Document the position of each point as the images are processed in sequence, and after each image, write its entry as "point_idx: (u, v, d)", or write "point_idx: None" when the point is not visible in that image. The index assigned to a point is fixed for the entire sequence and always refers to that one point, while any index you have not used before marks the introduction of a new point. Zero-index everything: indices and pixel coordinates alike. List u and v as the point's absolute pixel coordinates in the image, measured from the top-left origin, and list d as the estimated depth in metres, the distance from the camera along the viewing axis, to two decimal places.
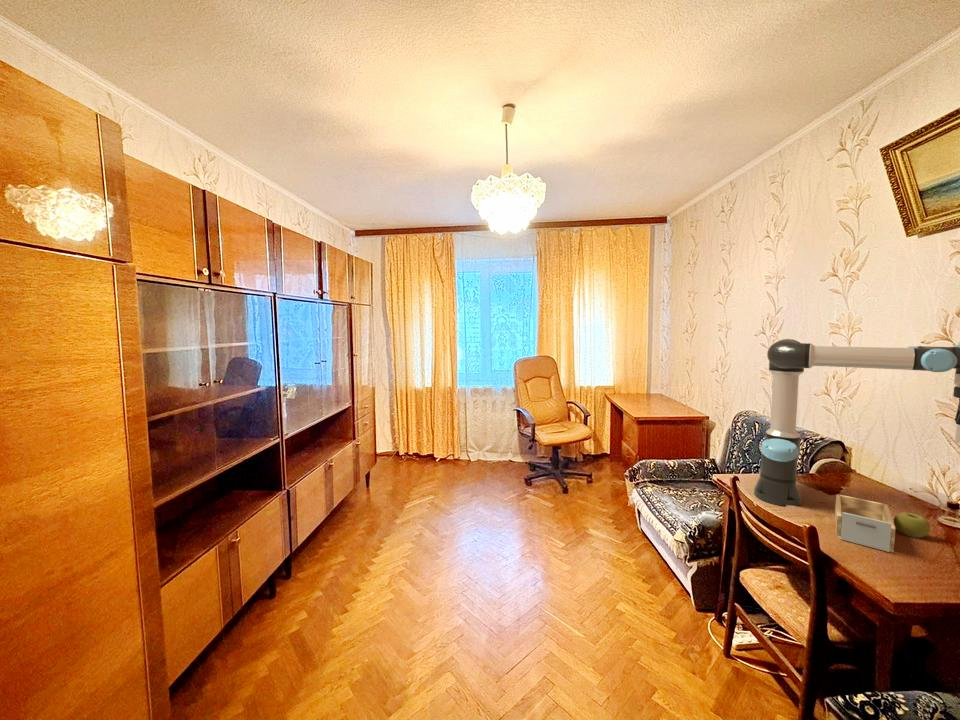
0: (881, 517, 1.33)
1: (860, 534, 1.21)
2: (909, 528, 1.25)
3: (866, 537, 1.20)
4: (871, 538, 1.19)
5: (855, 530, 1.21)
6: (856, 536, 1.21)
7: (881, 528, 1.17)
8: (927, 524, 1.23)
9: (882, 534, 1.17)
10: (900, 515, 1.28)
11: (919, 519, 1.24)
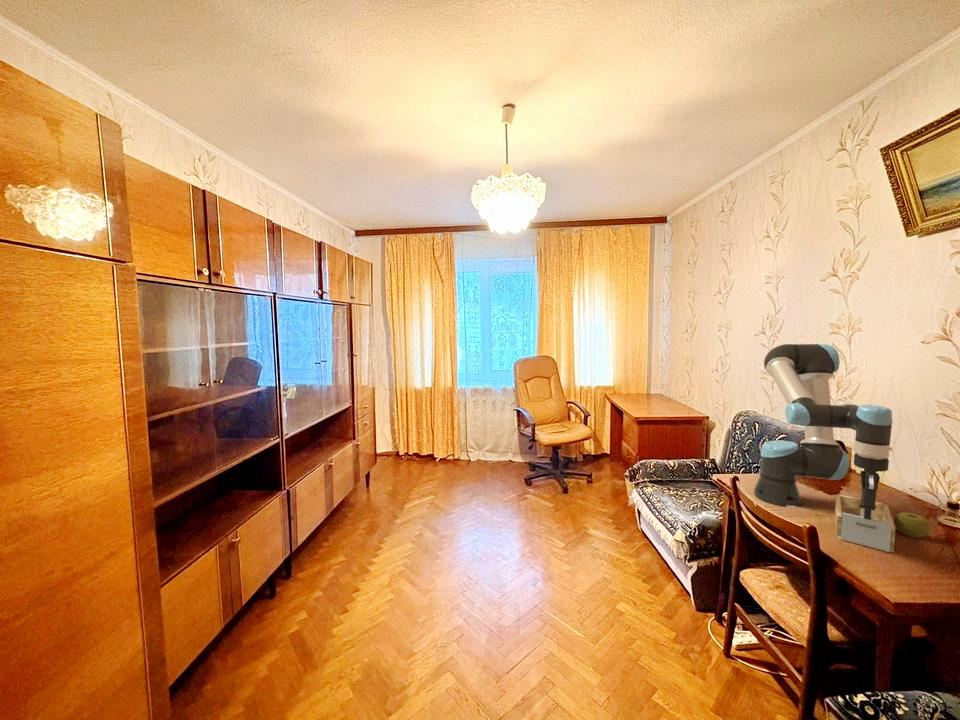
0: (881, 517, 1.33)
1: (860, 534, 1.20)
2: (909, 528, 1.25)
3: (866, 537, 1.20)
4: (871, 538, 1.19)
5: (855, 530, 1.21)
6: (856, 536, 1.21)
7: (881, 529, 1.17)
8: (927, 524, 1.23)
9: (882, 534, 1.17)
10: (900, 515, 1.28)
11: (919, 519, 1.24)
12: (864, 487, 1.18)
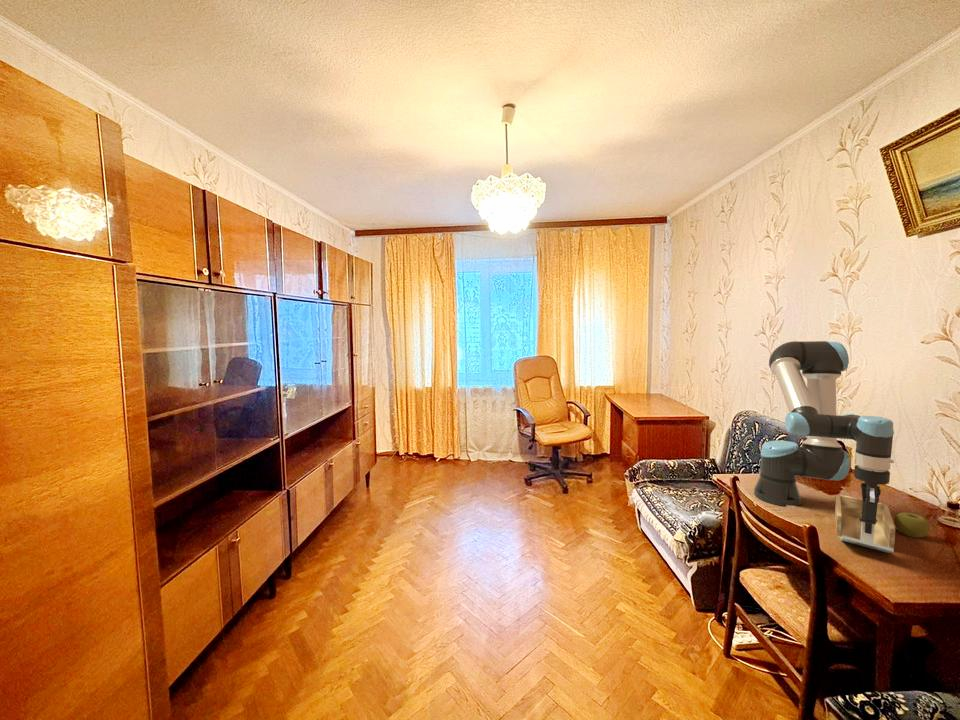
0: (881, 517, 1.33)
1: (860, 544, 1.19)
2: (909, 528, 1.25)
3: (866, 546, 1.18)
4: (871, 547, 1.17)
5: (855, 543, 1.19)
6: (856, 543, 1.20)
7: (882, 549, 1.13)
8: (927, 524, 1.23)
9: (883, 550, 1.14)
10: (900, 515, 1.28)
11: (919, 519, 1.24)
12: (865, 500, 1.15)
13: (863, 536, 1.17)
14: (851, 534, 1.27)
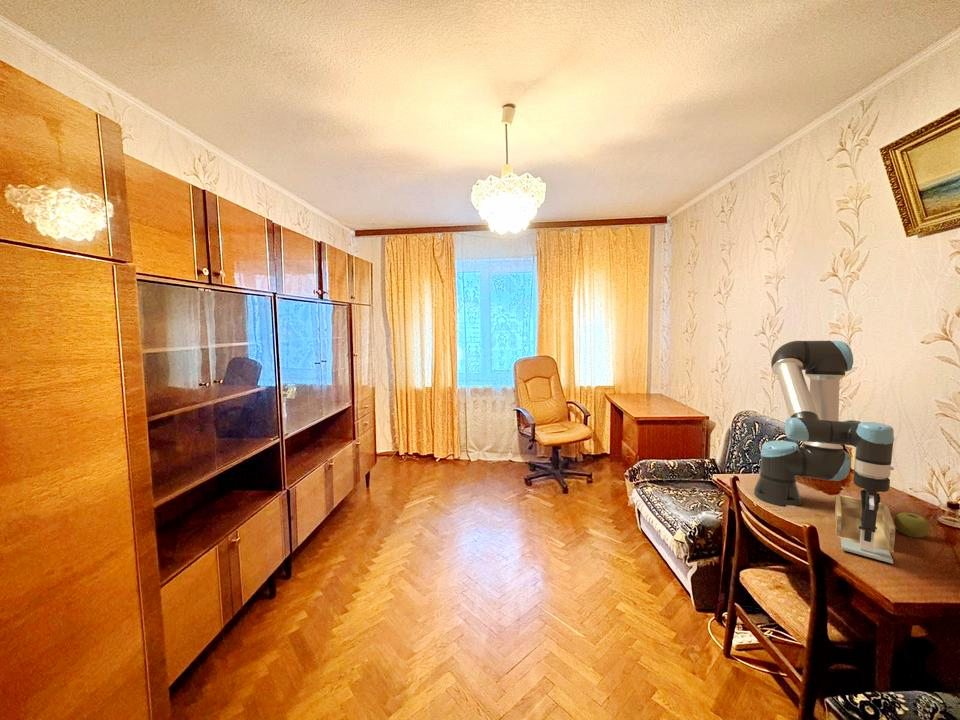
0: (881, 517, 1.33)
1: None
2: (909, 528, 1.25)
3: None
4: None
5: None
6: None
7: None
8: (927, 524, 1.23)
9: None
10: (900, 515, 1.28)
11: (919, 519, 1.24)
12: (864, 507, 1.14)
13: (862, 544, 1.15)
14: (851, 534, 1.27)
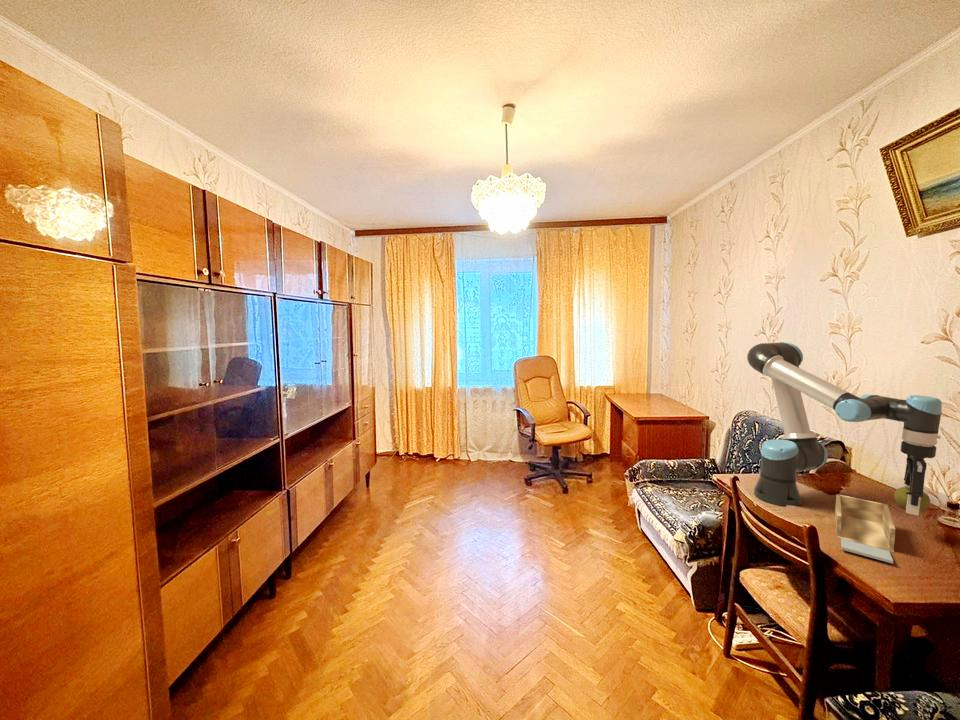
0: (881, 517, 1.33)
1: None
2: None
3: None
4: None
5: None
6: None
7: None
8: (927, 498, 1.23)
9: None
10: (900, 489, 1.27)
11: None
12: (911, 473, 1.24)
13: (909, 508, 1.24)
14: (851, 534, 1.27)
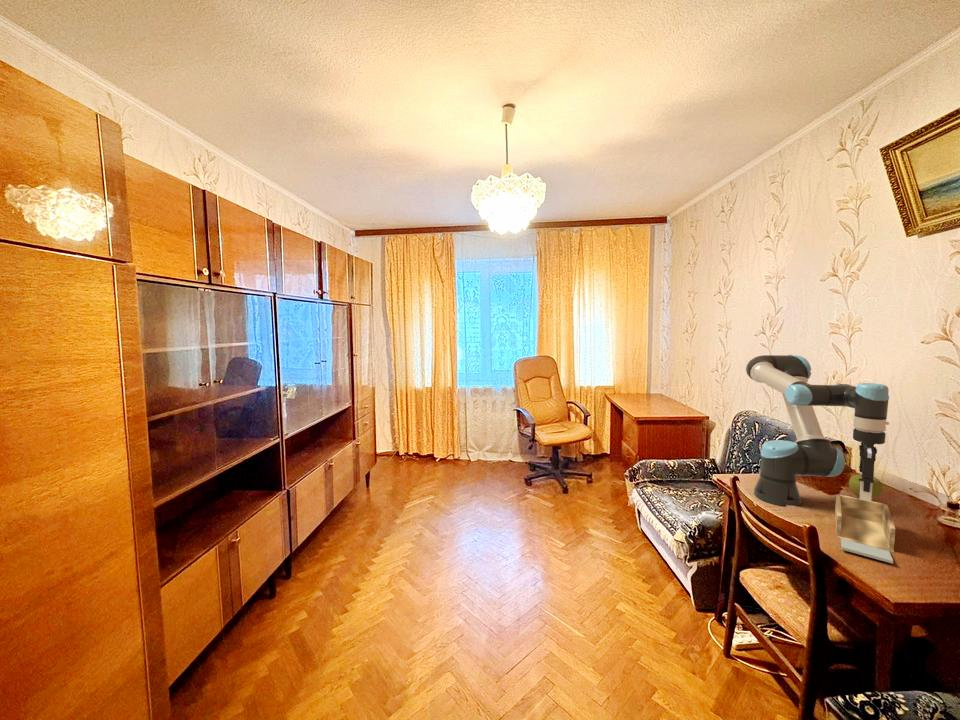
0: (881, 517, 1.33)
1: None
2: None
3: None
4: None
5: None
6: None
7: None
8: (879, 484, 1.24)
9: None
10: (854, 476, 1.29)
11: None
12: (863, 459, 1.25)
13: (862, 495, 1.25)
14: (851, 534, 1.27)
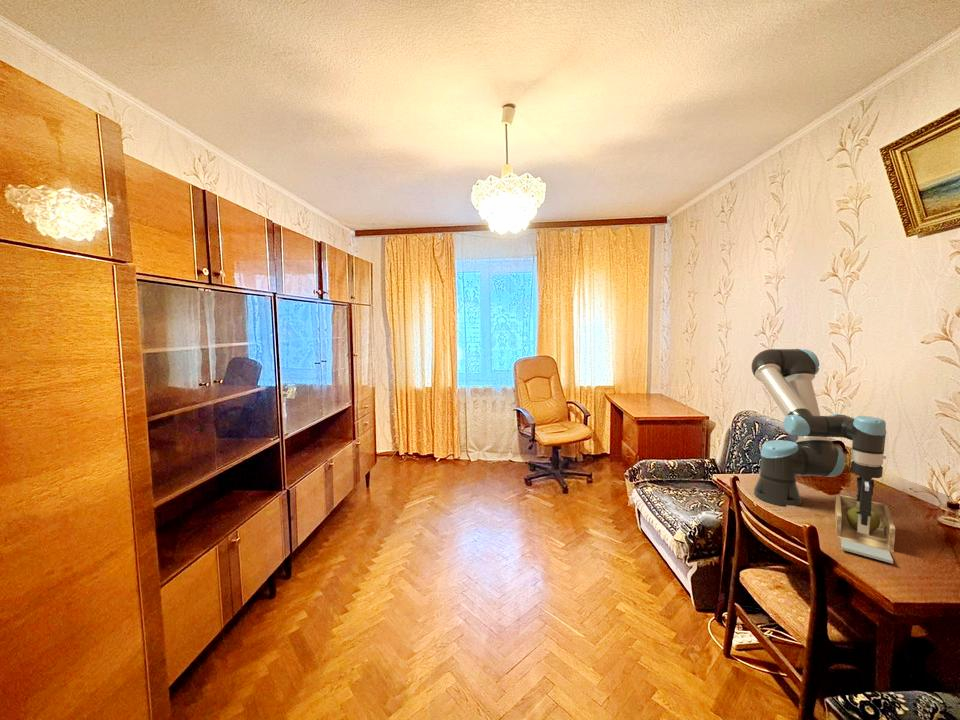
0: (881, 517, 1.33)
1: None
2: None
3: None
4: None
5: None
6: None
7: None
8: (877, 518, 1.25)
9: None
10: (852, 510, 1.30)
11: None
12: (860, 492, 1.26)
13: (859, 527, 1.25)
14: (851, 534, 1.27)
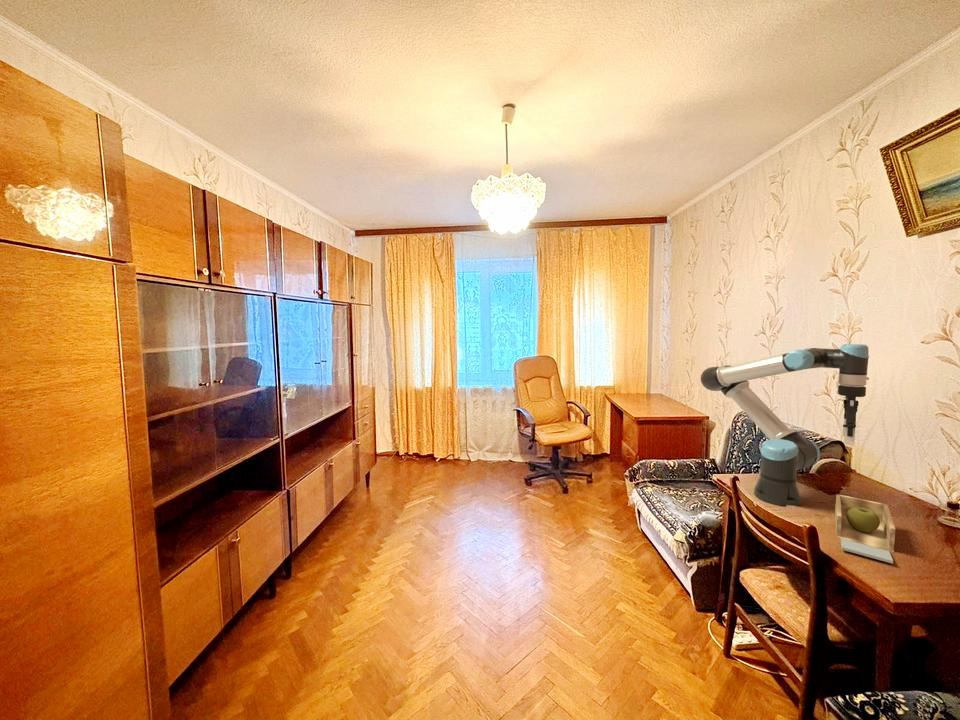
0: (881, 517, 1.33)
1: None
2: (859, 522, 1.27)
3: None
4: None
5: None
6: None
7: None
8: (877, 518, 1.25)
9: None
10: (852, 510, 1.30)
11: (869, 513, 1.26)
12: (846, 409, 1.41)
13: (846, 440, 1.39)
14: (851, 534, 1.27)
